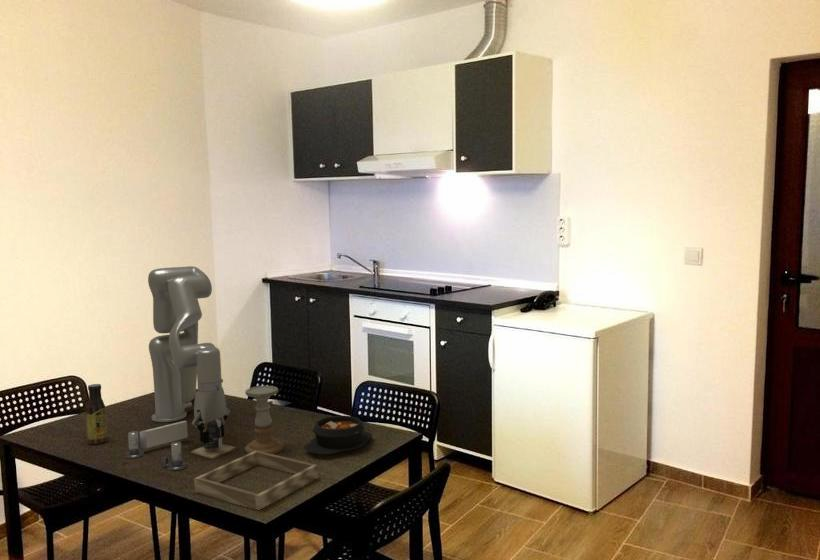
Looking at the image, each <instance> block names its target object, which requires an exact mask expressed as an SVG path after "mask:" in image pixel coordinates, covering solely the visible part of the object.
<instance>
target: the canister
mask: <svg viewBox="0 0 820 560" xmlns="http://www.w3.org/2000/svg"><path fill="white" fill-rule="evenodd" d="M172 362H173V360H172ZM173 363H174V362H173ZM179 371H180V382H181V399H182V403H183V402H184V403H188V402H192V401H193V400H195V395H196V392H197V367H193V368H188V369H179Z"/></svg>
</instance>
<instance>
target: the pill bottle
mask: <svg viewBox="0 0 820 560" xmlns="http://www.w3.org/2000/svg"><path fill="white" fill-rule="evenodd" d="M203 427H204V423H203ZM207 431H208V436H209V443H207V444H206V443H202V445H203V446H204V448H205V449H209V450H212V449H217V448H220V447H221V446H222V444H223V437H222V429H221V420H220V419H216V420H213V421H211V422H208V427H207ZM203 446H202V447H203Z"/></svg>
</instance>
